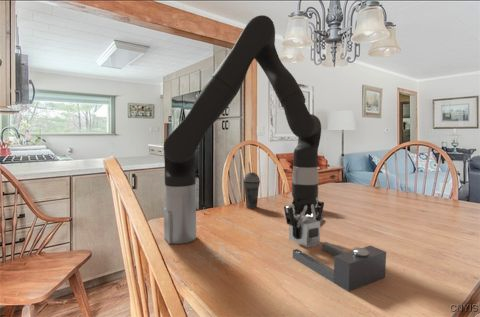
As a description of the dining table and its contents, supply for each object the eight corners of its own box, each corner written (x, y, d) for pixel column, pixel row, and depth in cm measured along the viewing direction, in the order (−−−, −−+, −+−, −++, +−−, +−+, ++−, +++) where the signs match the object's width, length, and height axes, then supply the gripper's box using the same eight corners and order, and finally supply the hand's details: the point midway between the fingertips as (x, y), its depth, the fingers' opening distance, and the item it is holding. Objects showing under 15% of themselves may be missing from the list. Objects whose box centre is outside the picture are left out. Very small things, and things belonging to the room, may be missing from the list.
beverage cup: (260, 209, 119) (260, 163, 117) (243, 209, 119) (243, 163, 117) (259, 205, 126) (259, 161, 124) (243, 205, 126) (243, 161, 124)
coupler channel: (348, 291, 57) (349, 259, 56) (292, 257, 73) (293, 232, 72) (385, 277, 63) (386, 248, 62) (325, 248, 79) (326, 225, 78)
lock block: (307, 248, 79) (308, 224, 78) (289, 238, 86) (289, 216, 85) (320, 244, 81) (321, 221, 81) (301, 235, 88) (301, 214, 88)
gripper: (314, 177, 89) (312, 229, 90) (277, 181, 82) (277, 237, 84) (332, 181, 82) (330, 236, 84) (294, 185, 75) (293, 245, 77)
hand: (303, 236), depth 84 cm, fingers closed on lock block, 5 cm apart
